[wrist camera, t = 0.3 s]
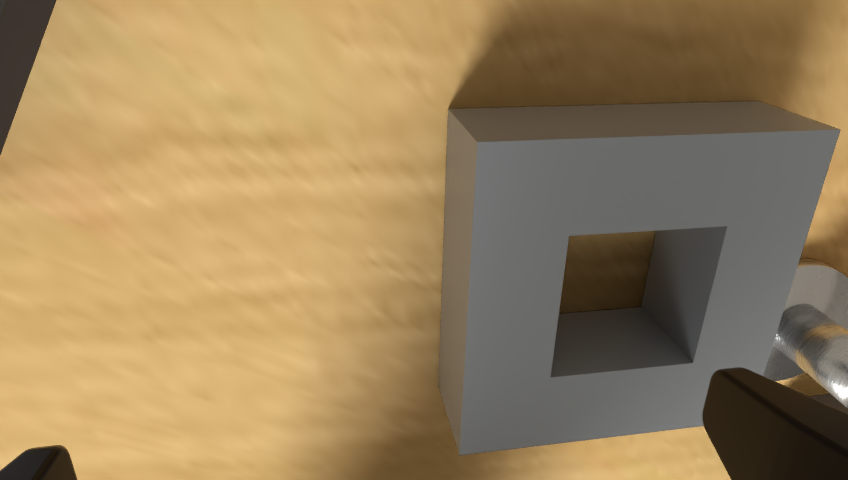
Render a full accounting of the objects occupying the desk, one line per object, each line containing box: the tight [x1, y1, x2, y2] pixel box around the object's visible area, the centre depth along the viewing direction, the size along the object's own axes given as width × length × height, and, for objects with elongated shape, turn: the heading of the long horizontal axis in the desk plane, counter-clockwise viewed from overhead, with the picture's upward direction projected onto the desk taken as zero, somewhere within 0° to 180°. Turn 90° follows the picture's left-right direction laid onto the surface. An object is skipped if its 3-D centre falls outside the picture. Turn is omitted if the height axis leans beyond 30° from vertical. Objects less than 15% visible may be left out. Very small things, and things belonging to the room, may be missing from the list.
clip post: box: [763, 259, 848, 408], centre depth 26 cm, size 6×6×5 cm
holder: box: [438, 101, 840, 455], centre depth 23 cm, size 12×12×4 cm
